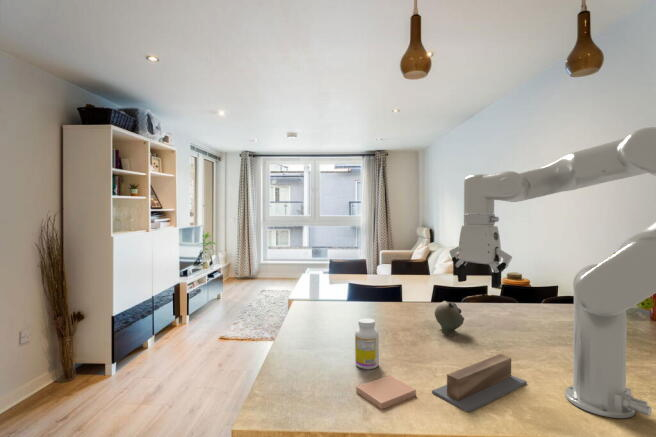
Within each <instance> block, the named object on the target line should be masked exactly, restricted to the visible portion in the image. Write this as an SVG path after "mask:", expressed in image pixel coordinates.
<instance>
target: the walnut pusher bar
mask: <svg viewBox="0 0 656 437" xmlns="http://www.w3.org/2000/svg"><path fill="white" fill-rule="evenodd" d="M511 375H512V357H510V356H507V355H504V354H501V353H499V354H496V355H494V356H492V357H489V358H487V359H484V360H481V361H478V362H475V363H473V364H471V365H468V366H465V367H463V368H460V369H457V370H456V371H453V372H450V373H447V374H446V385H447V396H449V397H451V398H453V399H454V400H456V401H460V400H462V399H464V398H466V397H468V396H471V395H473V394H475V393H477V392H479V391H481V390H484V389H486V388H488V387H490V386H492V385H495V384H497V383H499V382H501V381H503V380H505V379H508V378H510V377H511Z"/></svg>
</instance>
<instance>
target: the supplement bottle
mask: <svg viewBox="0 0 656 437" xmlns="http://www.w3.org/2000/svg"><path fill="white" fill-rule="evenodd" d="M358 326H359V327H358V328H356V330H355V331H354V332H355V334H354V336H355V337H354V338H355V341H354V342H355V343H354V344H355V348H354V349H355V352H354V353H355V356H354V357H355V365H356V366H357V367H358V368H360V369H364V370H373V369H376V368H378V366H379V360H380V359H379V358H380V357H379V355H380V353H379V352H380V351H379V343H380V342H379V330H377V329H376V328H375V326H376V321H375V319H373V318H367V317H365V318H360V319H358Z"/></svg>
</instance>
